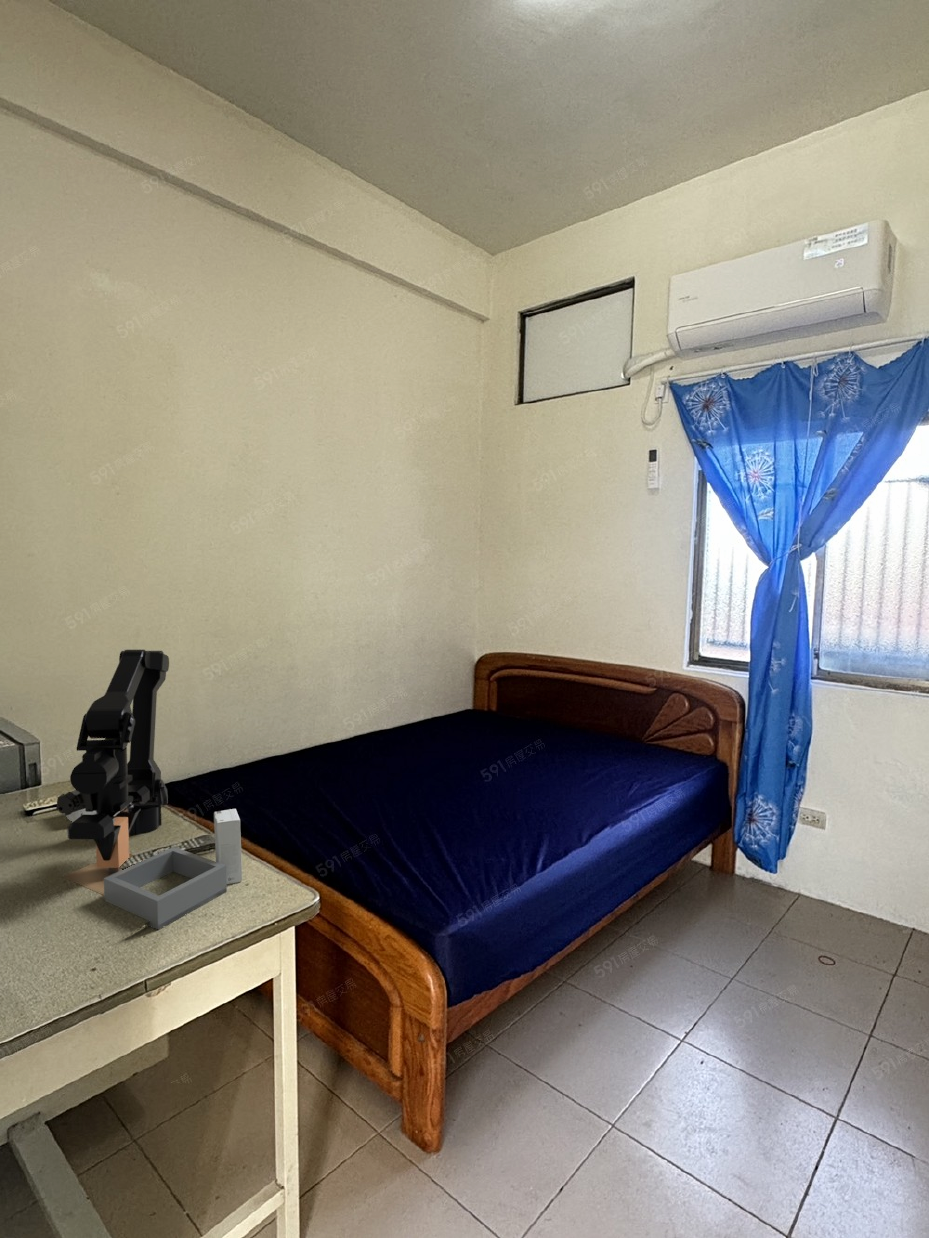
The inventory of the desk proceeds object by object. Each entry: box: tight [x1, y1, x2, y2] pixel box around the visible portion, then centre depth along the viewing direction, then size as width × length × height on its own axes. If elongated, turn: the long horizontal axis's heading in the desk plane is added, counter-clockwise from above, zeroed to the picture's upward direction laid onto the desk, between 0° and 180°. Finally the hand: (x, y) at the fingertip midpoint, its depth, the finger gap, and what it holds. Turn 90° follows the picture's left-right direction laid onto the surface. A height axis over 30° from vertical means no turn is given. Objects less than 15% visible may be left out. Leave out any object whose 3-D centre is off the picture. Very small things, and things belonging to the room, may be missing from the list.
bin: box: [103, 846, 228, 931], centre depth 117 cm, size 14×14×5 cm
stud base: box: [62, 853, 136, 896], centre depth 124 cm, size 12×12×6 cm
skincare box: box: [213, 808, 243, 886], centre depth 124 cm, size 6×4×12 cm
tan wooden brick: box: [95, 817, 130, 868], centre depth 123 cm, size 4×4×8 cm
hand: (112, 854), depth 123 cm, fingers closed on tan wooden brick, 4 cm apart
